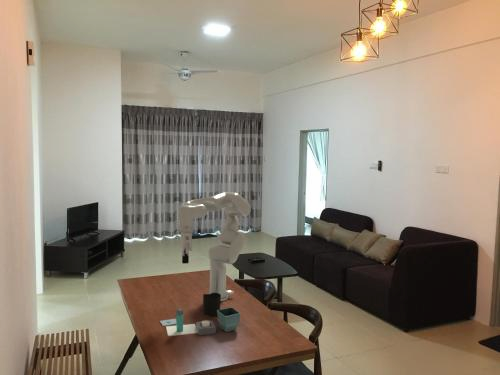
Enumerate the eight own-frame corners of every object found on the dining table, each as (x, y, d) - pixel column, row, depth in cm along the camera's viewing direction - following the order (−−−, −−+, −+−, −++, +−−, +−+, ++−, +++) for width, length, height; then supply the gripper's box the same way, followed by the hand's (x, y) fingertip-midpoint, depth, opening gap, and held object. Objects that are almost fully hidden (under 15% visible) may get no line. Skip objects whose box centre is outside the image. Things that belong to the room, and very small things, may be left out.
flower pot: (224, 334, 193) (225, 316, 192) (216, 327, 201) (216, 310, 200) (240, 331, 198) (241, 313, 197) (231, 324, 205) (232, 306, 205)
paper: (194, 324, 203) (194, 323, 203) (198, 333, 194) (198, 332, 194) (166, 327, 199) (166, 326, 199) (168, 336, 190) (168, 335, 190)
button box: (212, 326, 202) (212, 320, 202) (215, 333, 194) (215, 327, 194) (195, 327, 200) (196, 321, 199) (198, 335, 192) (198, 328, 192)
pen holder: (217, 317, 213) (218, 299, 212) (200, 315, 214) (200, 297, 214) (222, 311, 222) (222, 293, 221) (205, 309, 224) (206, 291, 223)
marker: (183, 328, 197) (182, 308, 196) (183, 331, 194) (183, 311, 193) (176, 329, 197) (175, 308, 196) (176, 332, 193) (175, 311, 192)
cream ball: (208, 327, 199) (209, 320, 199) (210, 330, 196) (210, 323, 195) (200, 327, 198) (200, 320, 198) (202, 331, 194) (202, 324, 194)
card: (175, 319, 209) (175, 318, 209) (178, 323, 204) (178, 322, 204) (159, 321, 206) (159, 320, 206) (162, 326, 200) (162, 325, 200)
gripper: (195, 231, 208) (194, 266, 209) (190, 225, 222) (190, 259, 224) (180, 231, 206) (179, 267, 207) (176, 226, 220) (176, 259, 221)
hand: (185, 263), depth 215 cm, fingers closed
